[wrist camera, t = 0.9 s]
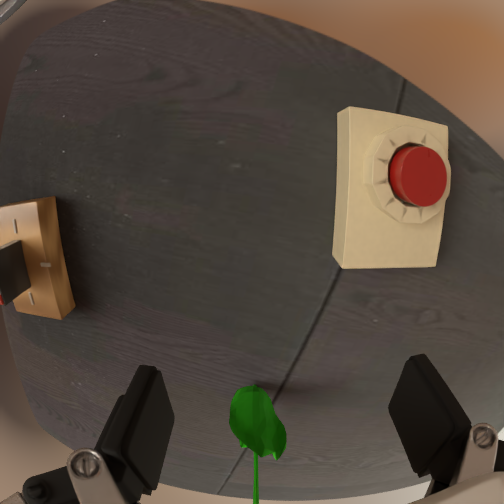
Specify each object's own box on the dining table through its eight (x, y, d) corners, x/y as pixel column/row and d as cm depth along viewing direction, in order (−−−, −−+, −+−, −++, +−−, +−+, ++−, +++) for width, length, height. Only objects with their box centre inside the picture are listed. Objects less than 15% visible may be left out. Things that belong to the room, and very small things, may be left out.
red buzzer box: (336, 112, 20) (357, 101, 15) (428, 128, 20) (461, 125, 15) (331, 255, 24) (348, 278, 19) (418, 254, 24) (446, 274, 19)
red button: (389, 143, 16) (401, 142, 15) (434, 151, 16) (448, 151, 15) (387, 200, 18) (398, 205, 16) (431, 204, 18) (444, 208, 16)
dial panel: (7, 203, 22) (-11, 209, 19) (59, 195, 22) (39, 200, 19) (27, 299, 26) (12, 311, 23) (79, 306, 26) (65, 321, 23)
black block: (13, 240, 20) (-18, 255, 16) (21, 239, 20) (-11, 255, 16) (23, 285, 22) (-4, 305, 18) (31, 286, 22) (4, 307, 18)
